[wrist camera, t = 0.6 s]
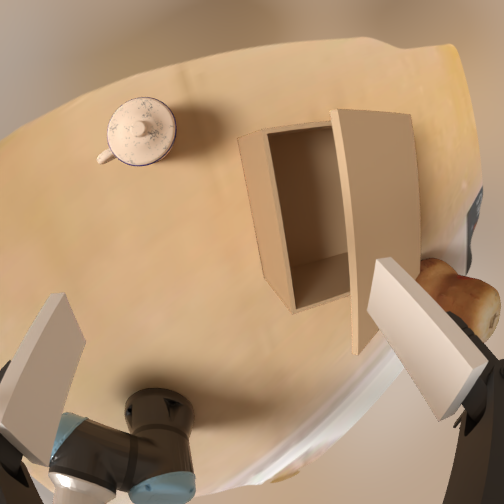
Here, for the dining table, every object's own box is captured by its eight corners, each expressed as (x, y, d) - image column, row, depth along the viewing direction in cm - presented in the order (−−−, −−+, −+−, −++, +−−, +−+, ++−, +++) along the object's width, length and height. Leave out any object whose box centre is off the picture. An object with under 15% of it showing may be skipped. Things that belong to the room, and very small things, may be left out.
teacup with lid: (160, 98, 41) (156, 78, 30) (186, 147, 44) (189, 141, 33) (94, 137, 40) (69, 131, 29) (120, 186, 43) (102, 194, 32)
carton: (369, 246, 57) (415, 270, 44) (264, 277, 53) (292, 314, 40) (355, 123, 49) (406, 116, 36) (237, 138, 46) (261, 129, 33)
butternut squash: (438, 257, 63) (518, 296, 40) (418, 308, 66) (489, 357, 43) (402, 244, 59) (493, 287, 36) (380, 302, 62) (459, 361, 39)
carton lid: (415, 271, 44) (420, 272, 44) (351, 353, 31) (358, 355, 30) (405, 114, 36) (410, 114, 36) (329, 110, 23) (337, 108, 22)
